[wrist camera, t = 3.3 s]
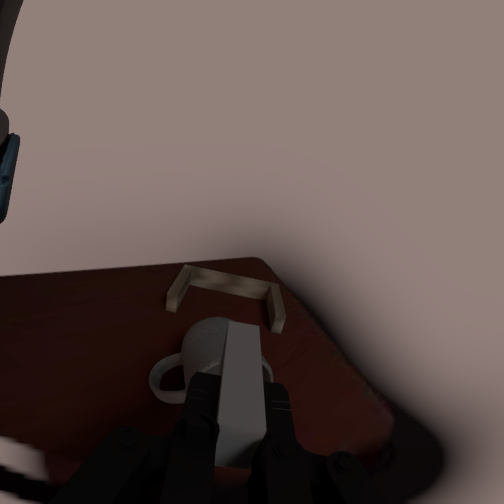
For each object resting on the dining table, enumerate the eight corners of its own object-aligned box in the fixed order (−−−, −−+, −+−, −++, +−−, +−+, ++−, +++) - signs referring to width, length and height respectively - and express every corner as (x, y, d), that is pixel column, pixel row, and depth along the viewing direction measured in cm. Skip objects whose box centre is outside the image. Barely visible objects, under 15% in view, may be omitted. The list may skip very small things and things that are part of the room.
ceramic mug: (238, 363, 31) (252, 308, 29) (263, 414, 24) (284, 357, 22) (147, 363, 27) (148, 303, 25) (152, 421, 20) (150, 360, 18)
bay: (165, 310, 38) (167, 292, 38) (183, 279, 50) (185, 264, 49) (280, 333, 40) (286, 316, 39) (273, 298, 51) (278, 283, 50)
